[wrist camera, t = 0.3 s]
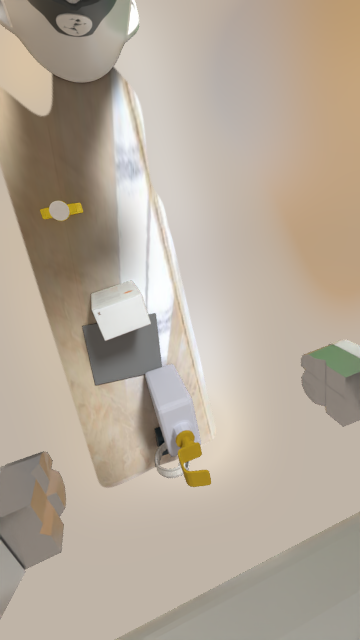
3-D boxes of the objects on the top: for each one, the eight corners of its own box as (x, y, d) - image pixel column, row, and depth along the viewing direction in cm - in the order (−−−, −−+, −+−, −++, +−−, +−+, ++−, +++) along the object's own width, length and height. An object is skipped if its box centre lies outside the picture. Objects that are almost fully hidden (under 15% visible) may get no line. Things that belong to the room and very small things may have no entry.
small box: (101, 319, 53) (103, 342, 44) (90, 292, 51) (90, 310, 41) (141, 305, 54) (152, 324, 45) (132, 278, 52) (141, 293, 43)
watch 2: (182, 438, 69) (197, 475, 59) (150, 448, 67) (160, 488, 57) (180, 420, 67) (195, 456, 57) (147, 430, 65) (157, 468, 55)
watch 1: (48, 223, 45) (40, 225, 40) (42, 205, 44) (32, 204, 39) (85, 216, 46) (82, 217, 41) (80, 198, 45) (76, 196, 40)
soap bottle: (182, 404, 65) (227, 497, 45) (155, 414, 64) (188, 514, 44) (173, 361, 60) (218, 444, 40) (143, 371, 59) (174, 462, 38)
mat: (82, 325, 52) (82, 326, 52) (155, 313, 56) (155, 313, 55) (95, 384, 57) (95, 385, 57) (161, 369, 61) (162, 370, 60)
